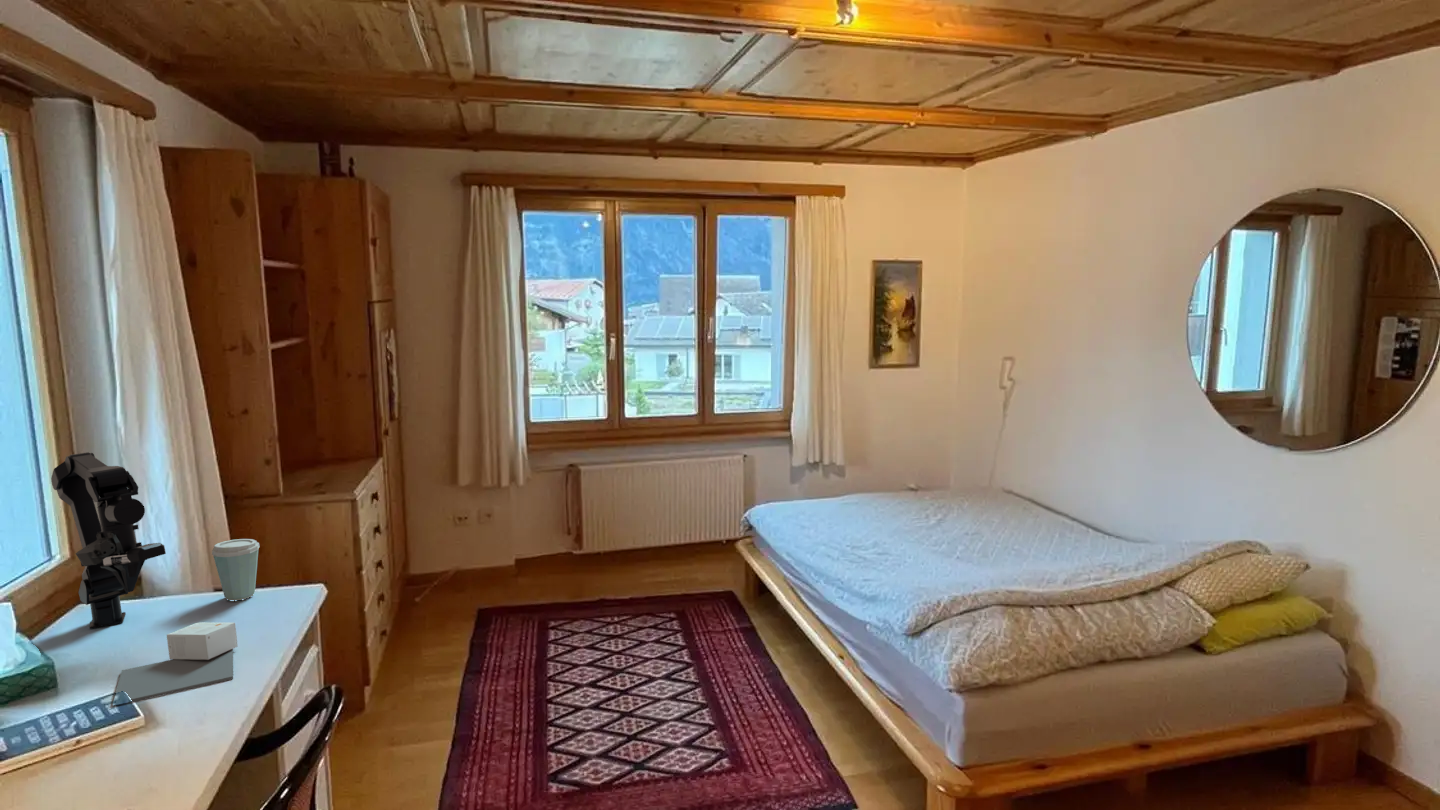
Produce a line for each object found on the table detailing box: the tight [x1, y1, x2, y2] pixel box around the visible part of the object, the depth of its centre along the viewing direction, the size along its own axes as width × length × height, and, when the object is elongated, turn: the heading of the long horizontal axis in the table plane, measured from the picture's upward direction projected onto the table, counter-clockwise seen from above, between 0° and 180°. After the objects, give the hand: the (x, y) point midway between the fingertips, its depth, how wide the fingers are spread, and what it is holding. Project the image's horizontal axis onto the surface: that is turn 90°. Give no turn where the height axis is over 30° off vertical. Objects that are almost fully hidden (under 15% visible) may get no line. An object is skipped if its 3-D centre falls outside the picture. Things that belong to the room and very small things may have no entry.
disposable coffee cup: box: [211, 538, 260, 602], centre depth 209 cm, size 11×11×15 cm
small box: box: [166, 621, 238, 660], centre depth 177 cm, size 8×6×10 cm
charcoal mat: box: [115, 648, 234, 703], centre depth 168 cm, size 16×20×1 cm
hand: (129, 591), depth 183 cm, fingers closed
